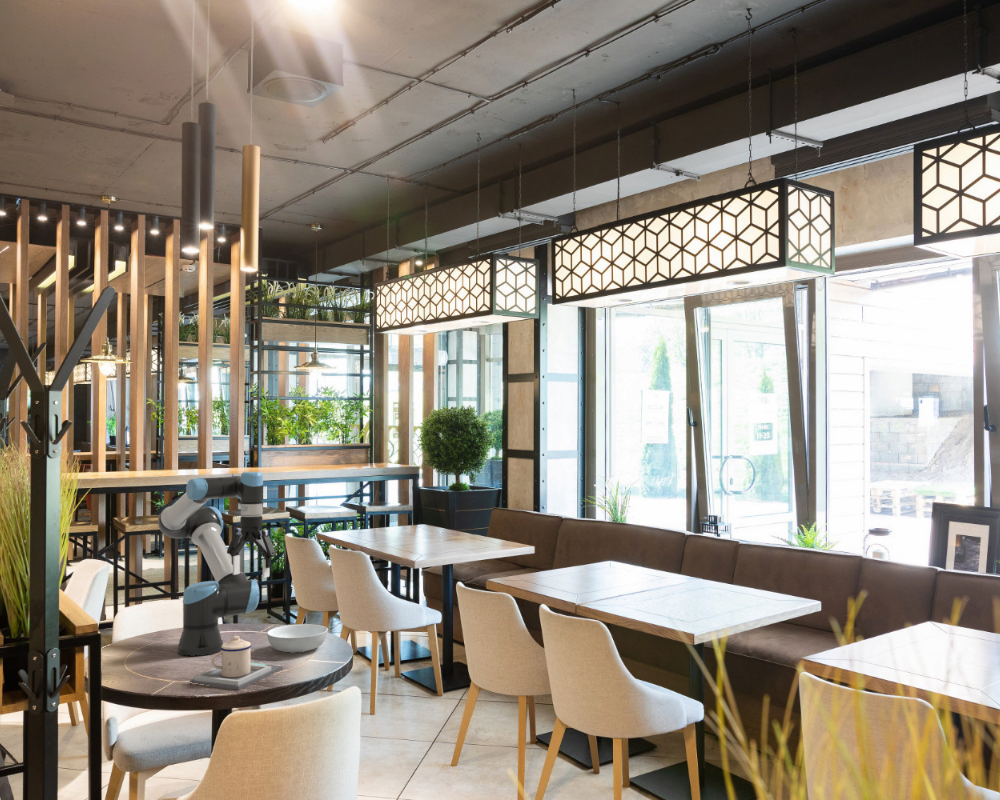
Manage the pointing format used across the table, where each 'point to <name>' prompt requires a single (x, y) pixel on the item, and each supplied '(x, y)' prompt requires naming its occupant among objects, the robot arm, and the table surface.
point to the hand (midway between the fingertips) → (251, 575)
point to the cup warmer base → (217, 680)
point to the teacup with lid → (234, 658)
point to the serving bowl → (297, 637)
